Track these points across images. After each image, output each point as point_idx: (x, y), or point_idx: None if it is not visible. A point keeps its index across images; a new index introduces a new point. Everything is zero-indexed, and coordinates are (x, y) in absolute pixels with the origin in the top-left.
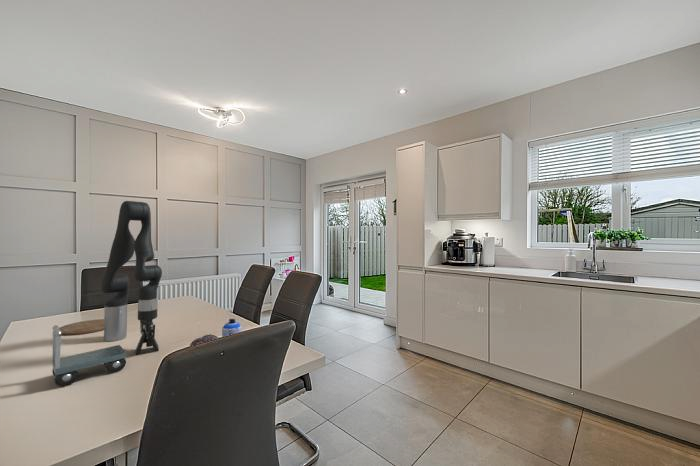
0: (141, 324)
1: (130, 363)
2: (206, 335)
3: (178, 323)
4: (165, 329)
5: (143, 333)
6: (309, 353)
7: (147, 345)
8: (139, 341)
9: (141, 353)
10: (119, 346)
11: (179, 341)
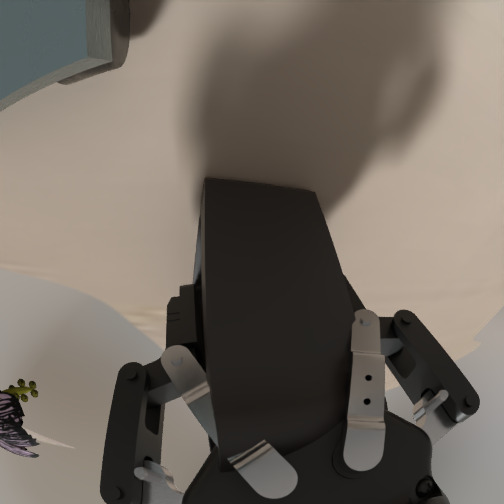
0: (374, 444)
1: (48, 150)
2: (11, 451)
3: (455, 336)
4: (454, 313)
5: (243, 376)
6: (40, 439)
7: (180, 296)
8: (300, 262)
9: (199, 221)
10: (11, 78)
11: None
